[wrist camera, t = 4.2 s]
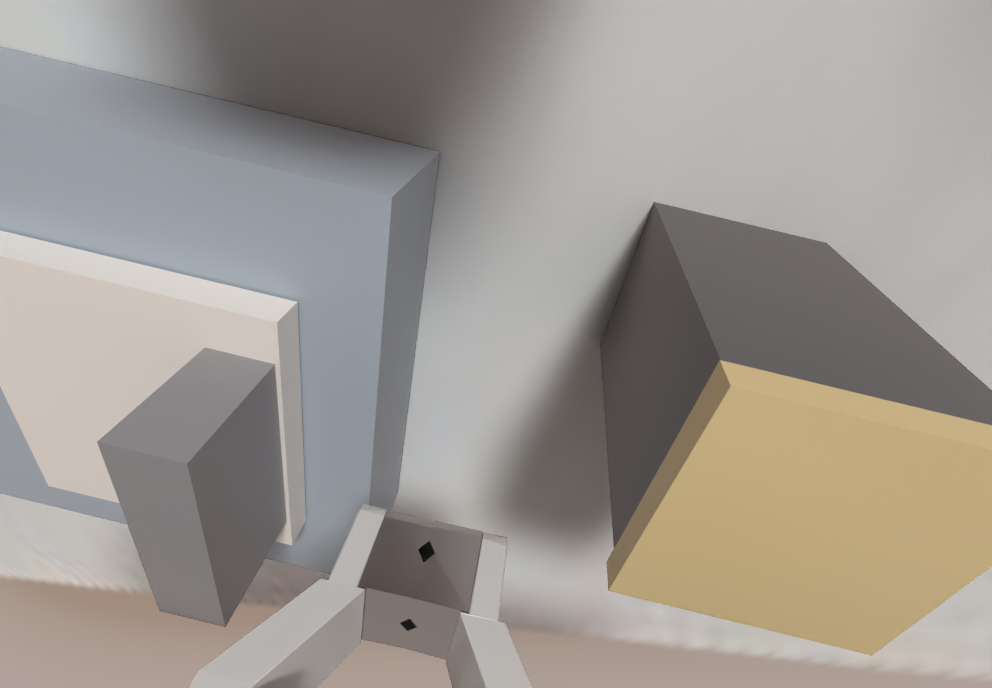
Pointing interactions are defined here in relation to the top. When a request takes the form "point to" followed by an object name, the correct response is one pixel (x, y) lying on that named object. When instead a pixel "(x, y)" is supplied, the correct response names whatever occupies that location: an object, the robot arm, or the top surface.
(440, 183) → the top surface
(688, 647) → the top surface
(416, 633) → the robot arm
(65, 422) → the panel
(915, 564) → the plug
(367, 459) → the socket block
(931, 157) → the top surface
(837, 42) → the top surface
